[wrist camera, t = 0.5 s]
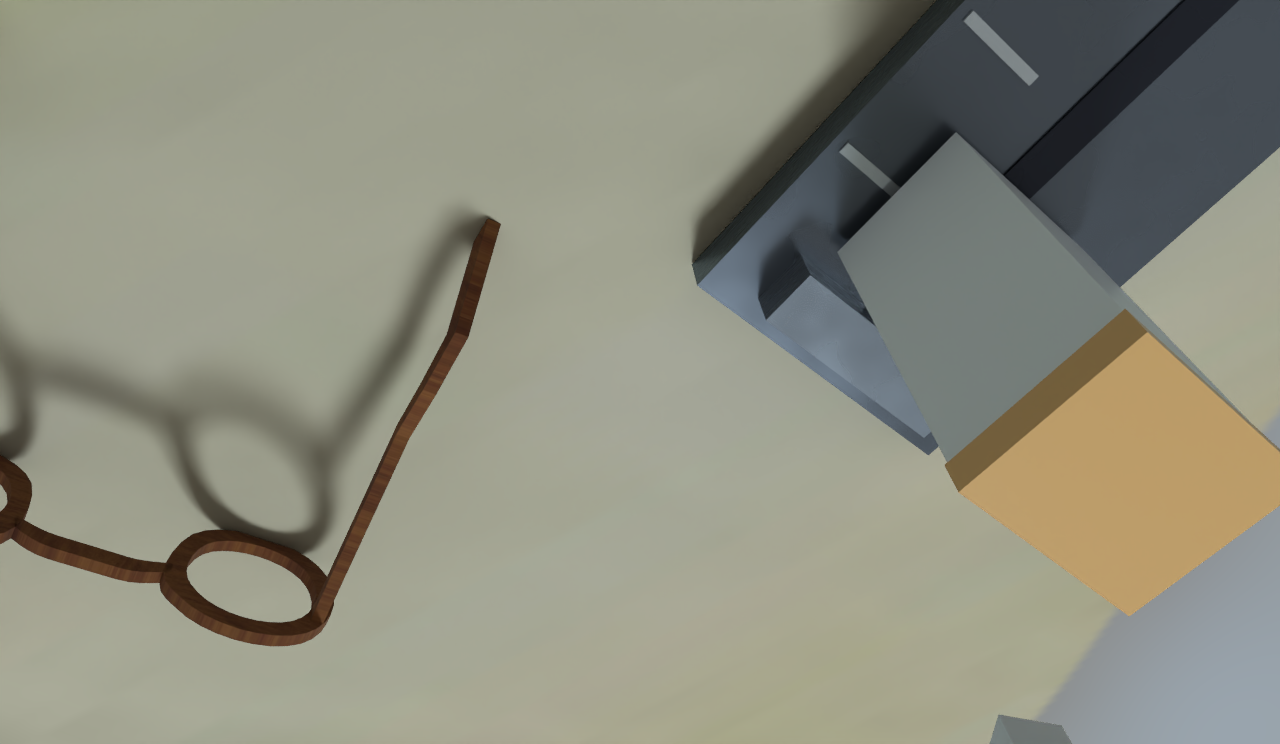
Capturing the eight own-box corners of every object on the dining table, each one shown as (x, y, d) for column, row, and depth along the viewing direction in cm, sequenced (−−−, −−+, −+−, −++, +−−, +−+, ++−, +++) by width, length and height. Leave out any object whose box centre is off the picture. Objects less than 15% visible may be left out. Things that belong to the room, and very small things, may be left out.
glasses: (-119, 416, 30) (-227, 534, 26) (-24, -20, 24) (-142, 42, 20) (338, 562, 34) (309, 686, 30) (512, 219, 29) (506, 311, 24)
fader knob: (965, 358, 29) (1128, 616, 21) (834, 252, 27) (958, 491, 19) (1086, 249, 28) (1312, 481, 20) (956, 129, 26) (1147, 331, 18)
